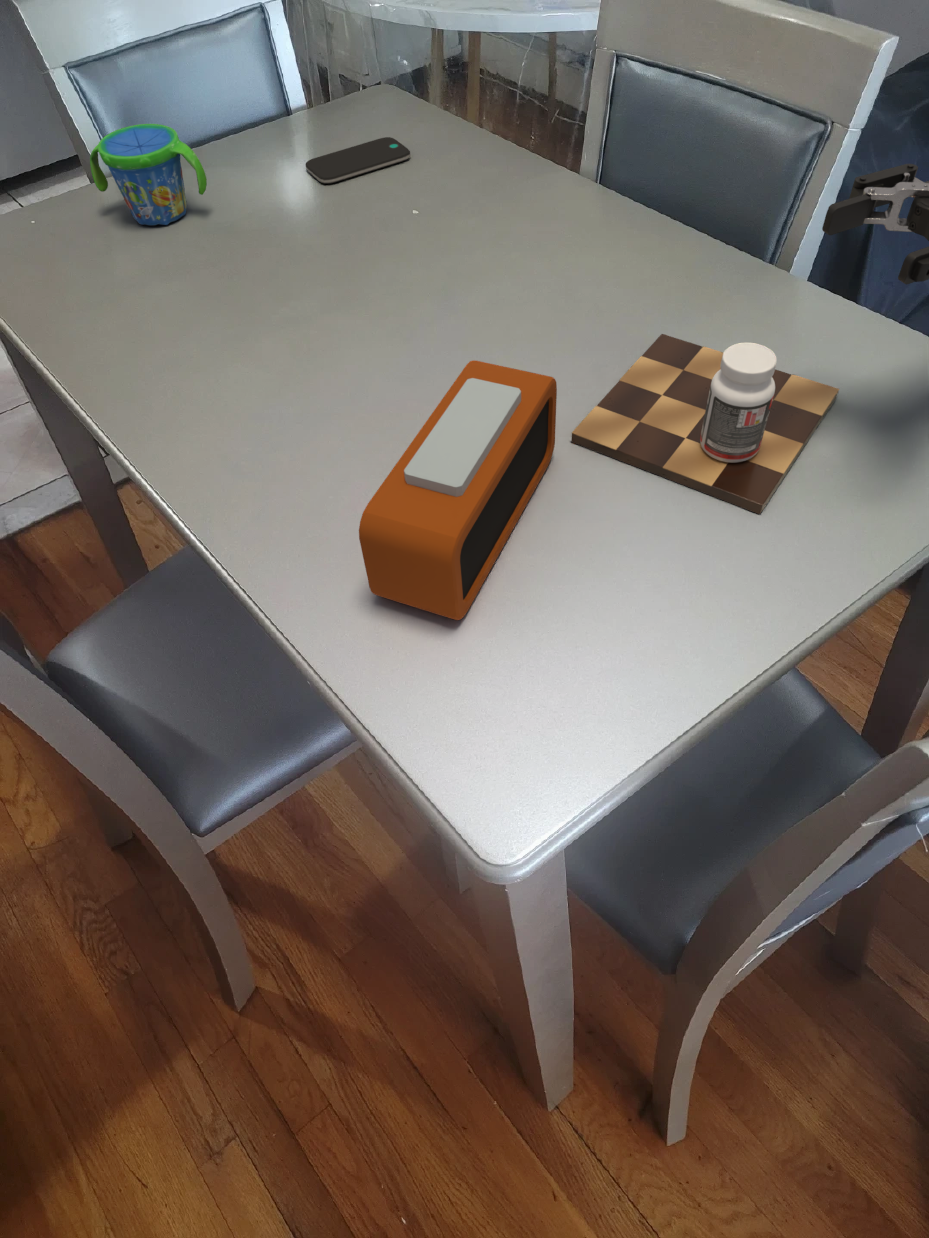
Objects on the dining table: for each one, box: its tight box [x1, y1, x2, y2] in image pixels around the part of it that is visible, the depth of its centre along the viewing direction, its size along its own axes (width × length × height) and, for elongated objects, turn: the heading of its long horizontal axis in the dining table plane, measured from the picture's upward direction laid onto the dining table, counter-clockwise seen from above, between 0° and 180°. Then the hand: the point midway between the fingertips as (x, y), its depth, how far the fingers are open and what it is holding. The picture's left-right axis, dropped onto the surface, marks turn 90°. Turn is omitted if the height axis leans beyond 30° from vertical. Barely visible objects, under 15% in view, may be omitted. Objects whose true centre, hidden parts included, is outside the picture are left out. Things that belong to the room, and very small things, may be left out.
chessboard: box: [570, 333, 840, 515], centre depth 88 cm, size 20×20×1 cm
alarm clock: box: [358, 359, 558, 621], centre depth 76 cm, size 24×8×11 cm, turn 156°
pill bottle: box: [700, 342, 778, 463], centre depth 80 cm, size 6×6×10 cm
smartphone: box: [305, 136, 411, 185], centre depth 129 cm, size 8×1×15 cm
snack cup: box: [89, 123, 208, 226], centre depth 118 cm, size 16×10×10 cm
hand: (864, 245), depth 67 cm, fingers open, 8 cm apart
